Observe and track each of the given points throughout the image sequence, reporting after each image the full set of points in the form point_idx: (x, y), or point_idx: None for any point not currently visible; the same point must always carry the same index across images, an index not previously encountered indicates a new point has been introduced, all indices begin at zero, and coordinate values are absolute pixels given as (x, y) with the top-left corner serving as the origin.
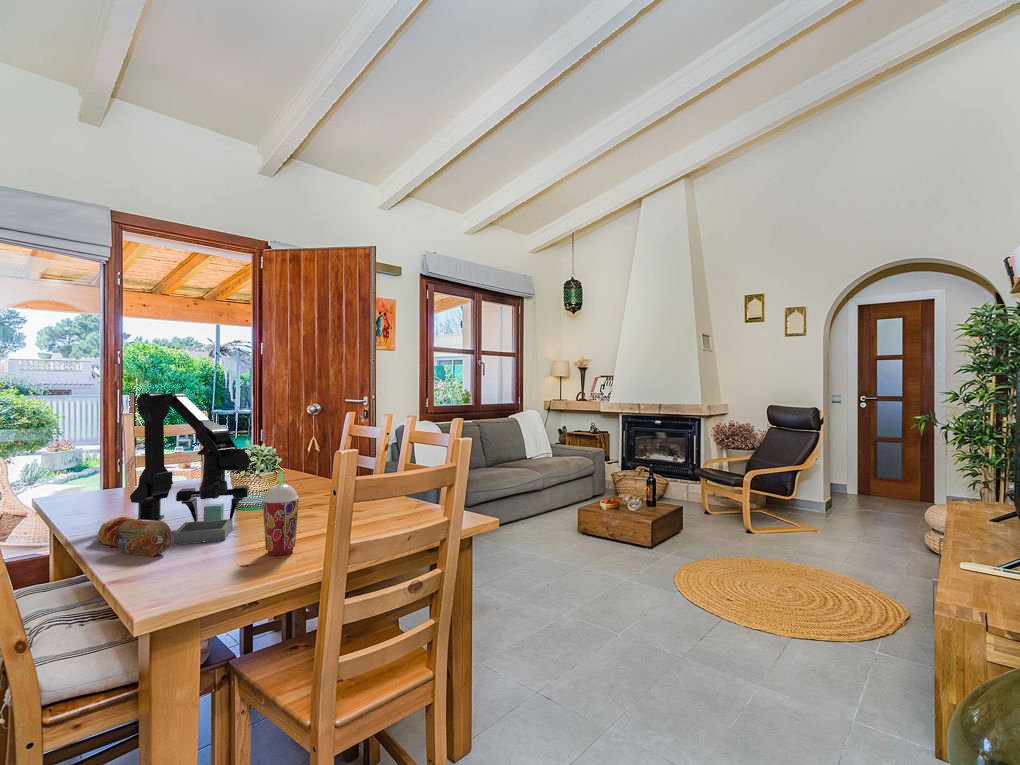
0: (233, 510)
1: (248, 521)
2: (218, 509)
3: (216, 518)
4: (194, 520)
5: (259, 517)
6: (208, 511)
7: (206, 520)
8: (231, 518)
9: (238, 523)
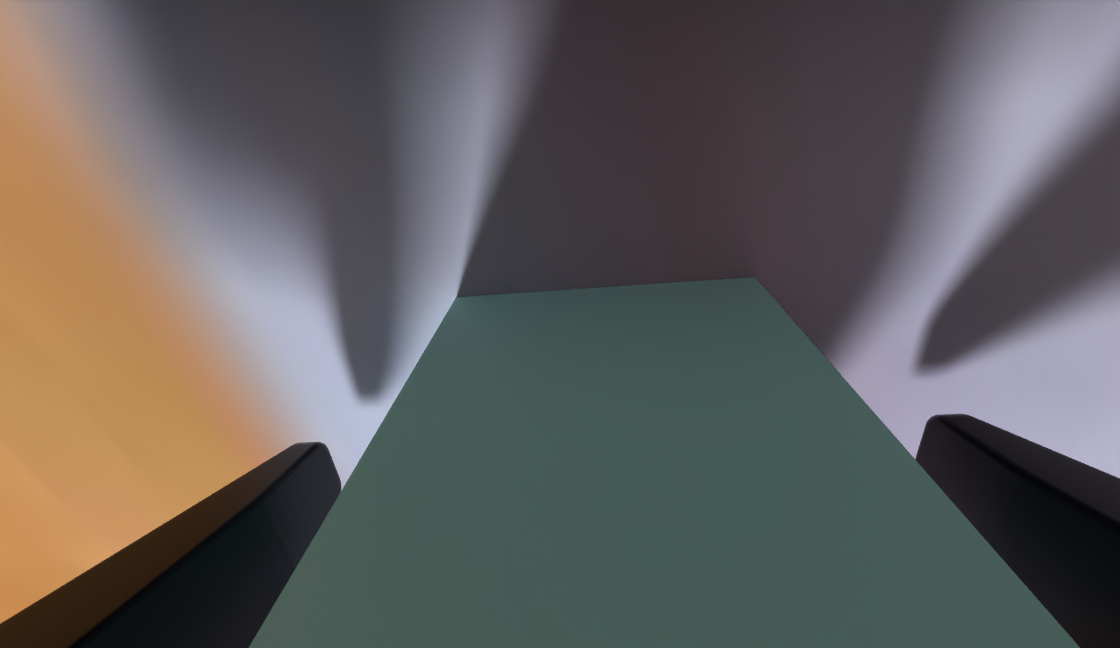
0: (22, 622)
1: (155, 498)
2: (360, 641)
3: (503, 379)
4: (1023, 445)
5: None
6: (791, 570)
7: (745, 354)
8: (263, 464)
9: (241, 425)
